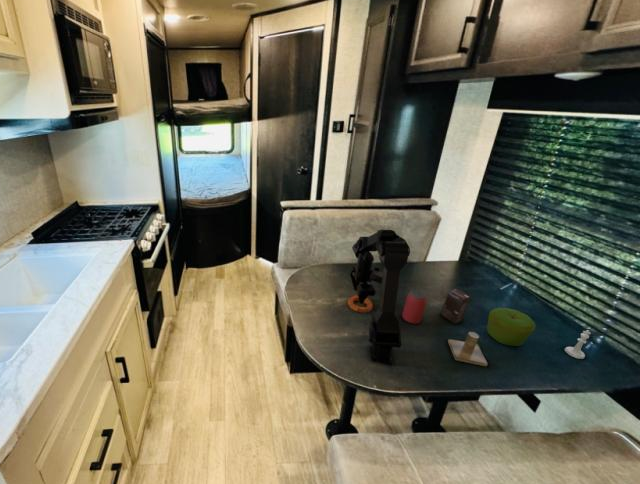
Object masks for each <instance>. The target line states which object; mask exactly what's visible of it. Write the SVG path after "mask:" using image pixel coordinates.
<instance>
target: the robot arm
mask: <svg viewBox="0 0 640 484" xmlns="http://www.w3.org/2000/svg"><path fill="white" fill-rule="evenodd" d="M351 249H352V252H353V254H354V257H355V258H356V259H357V262H356V263H355V264H354V265H351V266H349V269H348V272H349V277H350V281H351V283H352V286H353V290H354V291H355V292H356V293H357V296H358V298H359V301H358V302H359V304H360V305H362V304H364V301H365V299H366V298H367V299H368V297H374V296H375V295H376V293H377V292H376V289H375V287H374V286H373V284H371V283H373V282H375V283H378V284H379V285H381V287H380V294H379V296H380V297H379V304H378V309H377V310H373V311H372V313H371V314H372V315H371V321H370V322H369V326H368V336H369V337H368V342H369V343H370V344H371V345H370V347H369V349H370V350H369V351H370V361H372V362H376V363H381V364H385V365H390V366H392V365H393V359H392V353H393V352H392V351H393V349H394V348H398V349H400V348H401V347H402V345H403V344H402V337H401V336H402V335H401V328H400V321H399V319H398V317H397V316H396V305H397V298H398V290H399V281H400V274H401V273H400V272H401V271H402V269H404V267H405V266H406V265H407V264H408V260H409V256H410V254H411V249H410V245H409V244H408V242H407V241H406V239H405V238H403V237H402V236H400V235H399V234H397V233H396V231H395V230H393V229H378V230H377V231H376V232H375V233H373V234H371V235H369V236H360V237H359V238H357V240H356V242H355V243H354V244H353V245H352V247H351ZM372 252H377V253H378V259H379V261H380V263H381V265H382V268H383V269H382V271H381V270H380V267H379V266H377V265H374V266H373V262H374V261H375V258H374V257H375V256H374V254H373V253H372Z"/></svg>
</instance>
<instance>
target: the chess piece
mask: <svg viewBox="0 0 640 484" xmlns="http://www.w3.org/2000/svg"><path fill="white" fill-rule="evenodd" d="M591 334H592V333H591V332H590V330H588V329H586V330H582V332H581V333H580V338H579V337H578V338H577V339H576V340H577V341H578V342H577V343H576V344H575V345H574V346H566V347H565V348H564V351H565V353H566V354H568V355H569V356H570V357H573V358H575V359H577V360H579V359H580V360H583V359H585V357H586V354H585V353H584V351H582V347H583V345H584V344H587V340H588V339H590V335H591Z"/></svg>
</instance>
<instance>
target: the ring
mask: <svg viewBox="0 0 640 484" xmlns="http://www.w3.org/2000/svg"><path fill="white" fill-rule="evenodd" d="M354 302H359V298H358V295H352V296H351V297H349V298H348V300H347V304H348V307H349V308H350V309H351V310H353V311H355V312H358V313H370V311H372V310H373V307H374V304H373V302H372V301H371V300H370V298H368V297H367V298H366V299H365V301H364V302H363V304H366V306H359V305H357V304H355V303H354Z"/></svg>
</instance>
